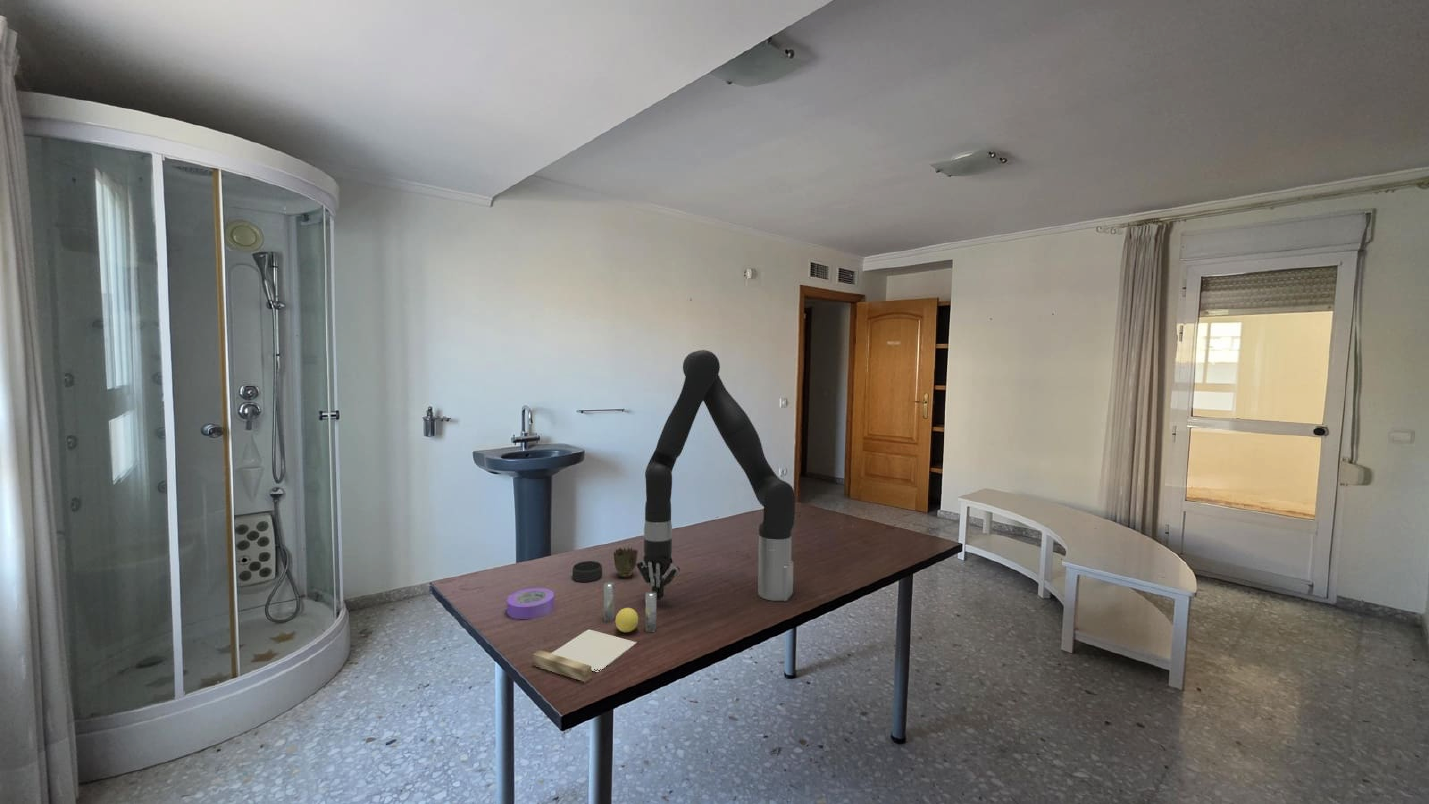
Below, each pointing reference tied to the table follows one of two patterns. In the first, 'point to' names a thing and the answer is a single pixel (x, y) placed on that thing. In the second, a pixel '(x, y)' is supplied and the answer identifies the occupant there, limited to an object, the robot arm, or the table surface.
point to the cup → (625, 561)
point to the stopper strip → (561, 665)
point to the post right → (650, 611)
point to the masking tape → (530, 603)
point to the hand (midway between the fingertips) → (657, 599)
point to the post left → (609, 601)
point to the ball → (626, 620)
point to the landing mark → (594, 649)
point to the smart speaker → (587, 571)
